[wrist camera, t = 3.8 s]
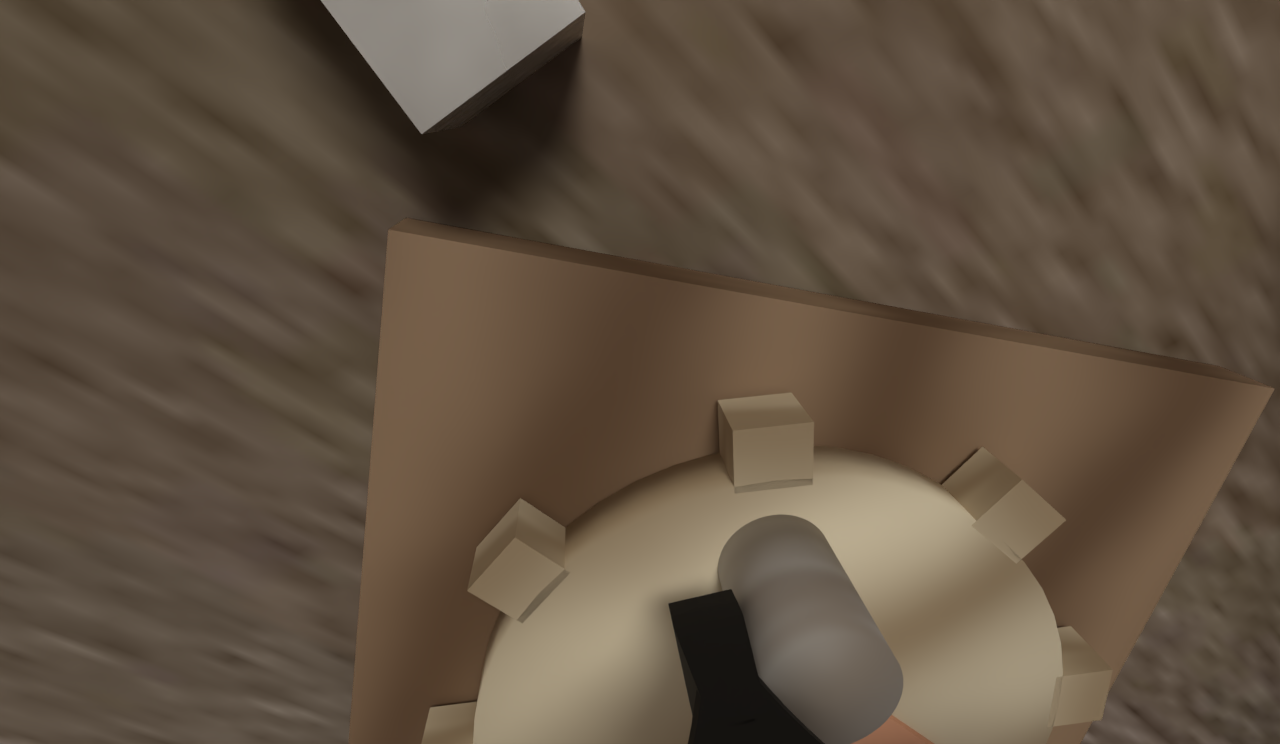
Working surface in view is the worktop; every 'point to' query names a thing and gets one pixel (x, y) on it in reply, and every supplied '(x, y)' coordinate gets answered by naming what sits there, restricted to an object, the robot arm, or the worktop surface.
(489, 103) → the link block
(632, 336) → the base board
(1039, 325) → the worktop surface
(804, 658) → the sprocket wheel
